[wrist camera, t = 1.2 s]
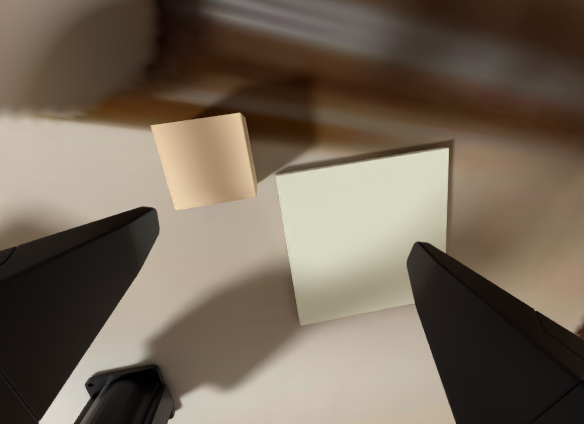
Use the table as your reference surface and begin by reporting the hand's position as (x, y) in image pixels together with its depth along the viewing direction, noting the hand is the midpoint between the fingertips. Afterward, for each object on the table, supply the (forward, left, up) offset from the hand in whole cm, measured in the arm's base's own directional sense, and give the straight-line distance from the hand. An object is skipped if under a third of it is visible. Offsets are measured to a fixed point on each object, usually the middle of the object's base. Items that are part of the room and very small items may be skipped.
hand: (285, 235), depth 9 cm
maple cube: (-4, +2, -13) cm, 13 cm away
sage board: (+7, -7, -12) cm, 16 cm away
